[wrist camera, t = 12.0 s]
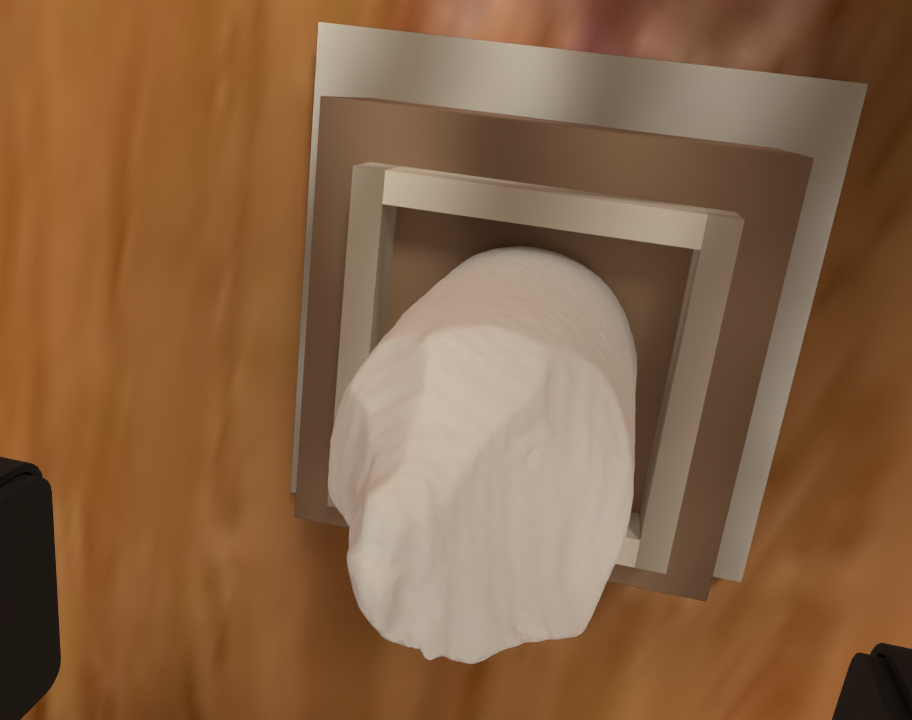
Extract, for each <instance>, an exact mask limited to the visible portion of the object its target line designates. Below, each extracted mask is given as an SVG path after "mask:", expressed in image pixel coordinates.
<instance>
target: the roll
mask: <svg viewBox="0 0 912 720" xmlns="http://www.w3.org/2000/svg"><path fill="white" fill-rule="evenodd" d="M636 378H637V353H636V349H635V343H634V338H633V334H632V332H631V330H630V327H629V323H628V320H627V317H626V315H625V312H624V310H623V308H622V307H621V305H620V303H619V301H618V299H617V297H616V296H615V295H614V294H613V292H612V291H611V289H610V288H609V287H608V286H607V284H605V283H604V281H603V280H602V279H601V278H600V277H599V276H597V275H596V274H595V273H594V272H593V271H591V270H589V269H588V268H587V267H585V266H584V265H582V264H580V263H579V262H577V261H575V260H573V259H571V258H569V257H567V256H565V255H562V254H560V253H557V252H553V251H549V250H544V249H540V248H536V247H526V246H515V247H504V248H496V249H491V250H488V251H485V252H482V253H479V254H476V255H474V256H472V257H470V258H468V259H467V260H465V261H464V262H463V263H461V264H460V265H459V266H457V267H456V268H455V269H454V270H452V271H451V272H450V273H449V274H448V275H447V276H446V277H445V278H443V279H442V280H441V281H439V282H438V283H437V284H436V285H435V286H434V287H433V288H431V289H430V291H428V292H427V293H426V294H425V295H424V296H423V297H421V298H420V299H419V300H418V301H417V302H416V303H415V304H414V305H412V306H411V307H410V308H409V309H408V310H407V311H406V312H405V313H403V314H402V316H401V318H400V319H399V320H398V321H397V323H396V325H395V326H394V327H393V328H392V329H391V330H390V331H389V332H388V333H387V334H386V335H385V336H384V337H383V338H382V340H381V341H380V342H379V343H378V345H377V346H376V347H375V348H374V349H373V351H372V352H371V353H370V355H369V356H368V357H367V359H366V360H365V361H364V362H363V364H362V365H361V366H360V368H359V369H358V371H357V372H356V374H355V375H354V377H353V379H352V380H351V381H350V383H349V384H348V386H347V387H346V390H345V392H344V395H343V397H342V400H341V404H340V406H339V409H338V412H337V417H336V420H335V424H334V428H333V432H332V436H331V440H330V457H329V474H328V491H329V495H330V497H331V499H332V501H333V503H334V505H335V506H336V507H337V509H338V510H339V512H340V513H341V514H342V515H343V517H344V519H345V520H346V522H347V524H348V525H349V527H350V529H349V550H348V552H347V566H348V571H349V575H350V579H351V583H352V588H353V592H354V596H355V598H356V601H357V603H358V606H359V608H360V610H361V612H362V613H363V614H364V616H365V617H366V618H367V620H368V621H369V622H370V624H371V625H372V626H373V627H374V628H375V629H376V630H377V631H378V632H379V633H380V635H381V636H382V637H383V638H385V639H386V640H388V641H391V642H394V643H398V644H401V645H403V646H406V647H409V648H410V647H413V648H415V649H420V650H421V652H422V655H423V657H424V658H426V659H428V660H433V659H435V658H437V657H440V656H444V657H447V658H449V659H451V660H454V661H458V662H463V663H467V664H475V663H478V662H481V661H484V660H486V659H487V658H489V657H490V656H492V655H494V654H496V653H498V652H500V651H502V650H505V649H507V648H512V647H516V646H519V645H521V644H522V643H525V642H541V641H544V640H547V639H555V640H556V639H563V638H573V637H577V636H578V635H580V634H581V633H583V632H584V630H585V629H586V627H587V625H588V623H589V621H590V619H591V617H592V615H593V613H594V611H595V608H596V606H597V604H598V602H599V600H600V598H601V595H602V592H603V590H604V588H605V585H606V583H607V581H608V579H609V577H610V575H611V572H612V570H613V567H614V565H615V563H616V562H617V560H618V558H619V555H620V553H621V550H622V548H623V544H624V541H625V537H626V534H627V529H628V524H629V521H630V514H631V508H632V503H633V496H634V470H635V448H634V447H635V410H636V407H635V391H636Z"/></svg>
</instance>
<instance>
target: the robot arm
mask: <svg viewBox="0 0 912 720" xmlns="http://www.w3.org/2000/svg"><path fill="white" fill-rule="evenodd" d="M60 662H61V653H60V635H59V616H58V598H57V579H56V560H55V542H54V523H53V504H52V490H51V486H50V484H49V482H48V481H47V480H46V479H44V478H43V477H42V473H41V471H40V470H39V468H38V467H37V466H35V465H34V464H32V463H27V462H22V461H18V460H13V459H8V458H3V457H0V720H20V719H21V718H22V717H23V716H24V715H25V714H26V713H27V712H28V711H29V710H30V709H31V708H32V707H33V706H34V705H35V704H36V703H37V702H38V701H39V700H40V699H41V698H42V697H43V696H44V695H45V694H46V693H47V692H48V690H49V689H50V688H51V686H52V685H53V683H54V681H55V679H56V677H57V675H58V672H59V668H60ZM832 720H912V649H909V648H904V647H899V646H895V645H890V644H885V643H880V644H877V645H876V646H875V647H874V649H873V650H872V652H871V654H870V655H869V654H864V653H857V654H855V656H854V657H853V658H852V661H851V663H850V665H849V669H848V672H847V675H846V678H845V681H844V684H843V687H842V690H841V693H840V696H839V699H838V703H837V706H836V709H835V712H834V715H833V718H832Z"/></svg>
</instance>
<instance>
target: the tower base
mask: <svg viewBox="0 0 912 720" xmlns="http://www.w3.org/2000/svg"><path fill="white" fill-rule="evenodd" d="M867 87H868V84H866V83H857V82H849V81H840V80H831V79H822V78H813V77H804V76H795V75H786V74H777V73H769V72H760V71H751V70H742V69H733V68H724V67H715V66H706V65H697V64H688V63H680V62H671V61H662V60H653V59H644V58H635V57H626V56H617V55H608V54H599V53H591V52H582V51H573V50H564V49H555V48H546V47H537V46H528V45H519V44H510V43H502V42H493V41H484V40H475V39H466V38H457V37H448V36H439V35H430V34H421V33H413V32H404V31H395V30H386V29H377V28H368V27H359V26H350V25H341V24H333V23H324V22H318V39H317V56H316V73H315V89H314V106H313V123H312V140H311V156H310V173H309V190H308V207H307V223H306V240H305V257H304V274H303V290H302V307H301V324H300V341H299V357H298V374H297V391H296V408H295V424H294V441H293V458H292V475H291V491H290V492H293V493H296V500H295V516H294V517H295V518H300V519H305V520H310V521H315V522H320V523H325V524H330V525H335V526H339V527H344V528H349V529H350V527H349V525H348V524H347V522H346V520H345V519H344V517H343V515H342V514H341V513H340V512H339V510H338V509H337V507H336V506H335V505H334V503H333V501H332V499H331V497H330V495H329V491H328V474H329V457H330V440H331V436H332V432H333V428H334V424H335V420H336V417H337V412H338V409H339V406H340V404H341V400H342V397H343V395H344V392H345V390H346V387H347V386H348V384H349V383H350V381H351V380H352V379H353V377H354V375H355V374H356V372H357V371H358V369H359V368H360V366H361V365H362V364H363V362H364V361H365V360H366V359H367V357H368V356H369V355H370V353H371V352H372V351H373V349H374V348H375V347H376V346H377V345H378V343H379V342H380V341H381V340H382V338H383V337H384V336H385V335H386V334H387V333H388V332H389V331H390V330H391V329H392V328H393V327H394V326H395V325H396V323H397V321H398V320H399V319H400V318H401V316H402V314H403V313H405V312H406V311H407V310H408V309H409V308H410V307H411V306H412V305H414V304H415V303H416V302H417V301H418V300H419V299H420V298H421V297H423V296H424V295H425V294H426V293H427V292H428V291H430V289H431V288H433V287H434V286H435V285H436V284H437V283H438V282H439V281H441V280H442V279H443V278H445V277H446V276H447V275H448V274H449V273H450V272H451V271H452V270H454V269H455V268H456V267H457V266H459V265H460V264H461V263H463V262H464V261H465V260H467V259H468V258H470V257H472V256H474V255H476V254H479V253H482V252H485V251H488V250H491V249H496V248H504V247H515V246H526V247H536V248H540V249H544V250H549V251H553V252H557V253H560V254H562V255H565V256H567V257H569V258H571V259H573V260H575V261H577V262H579V263H580V264H582V265H584V266H585V267H587V268H588V269H589V270H591V271H593V272H594V273H595V274H596V275H597V276H599V277H600V278H601V279H602V280H603V281H604V283H605V284H607V286H608V287H609V288H610V289H611V291H612V292H613V294H614V295H615V296H616V297H617V299H618V301H619V303H620V305H621V307H622V308H623V310H624V312H625V315H626V317H627V320H628V323H629V327H630V330H631V332H632V334H633V338H634V343H635V349H636V353H637V378H636V391H635V407H636V410H635V447H634V448H635V470H634V496H633V503H632V508H631V514H630V521H629V524H628V529H627V534H626V537H625V541H624V544H623V548H622V550H621V553H620V555H619V558H618V560H617V562H616V563H615V565H614V567H613V570H612V572H611V575H610V577H609V579H608V582H613V583H618V584H622V585H627V586H632V587H637V588H642V589H647V590H652V591H657V592H662V593H666V594H671V595H676V596H681V597H686V598H691V599H696V600H701V601H705V602H707V598H708V594H709V590H710V585H711V581H712V577H717V578H722V579H727V580H732V581H737V582H741V581H742V577H743V573H744V569H745V565H746V561H747V557H748V554H749V550H750V546H751V542H752V538H753V534H754V530H755V526H756V522H757V518H758V514H759V510H760V507H761V503H762V499H763V495H764V491H765V487H766V483H767V479H768V475H769V471H770V467H771V463H772V459H773V456H774V452H775V448H776V444H777V440H778V436H779V432H780V428H781V424H782V420H783V416H784V412H785V409H786V405H787V401H788V397H789V393H790V389H791V385H792V381H793V377H794V373H795V369H796V365H797V362H798V358H799V354H800V350H801V346H802V342H803V338H804V334H805V330H806V326H807V322H808V318H809V315H810V311H811V307H812V303H813V299H814V295H815V291H816V287H817V283H818V279H819V275H820V271H821V267H822V264H823V260H824V256H825V252H826V248H827V244H828V240H829V236H830V232H831V228H832V224H833V220H834V217H835V213H836V209H837V205H838V201H839V197H840V193H841V189H842V185H843V181H844V177H845V173H846V170H847V166H848V162H849V158H850V154H851V150H852V146H853V142H854V138H855V134H856V130H857V126H858V123H859V119H860V115H861V111H862V107H863V103H864V99H865V95H866V91H867Z"/></svg>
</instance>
